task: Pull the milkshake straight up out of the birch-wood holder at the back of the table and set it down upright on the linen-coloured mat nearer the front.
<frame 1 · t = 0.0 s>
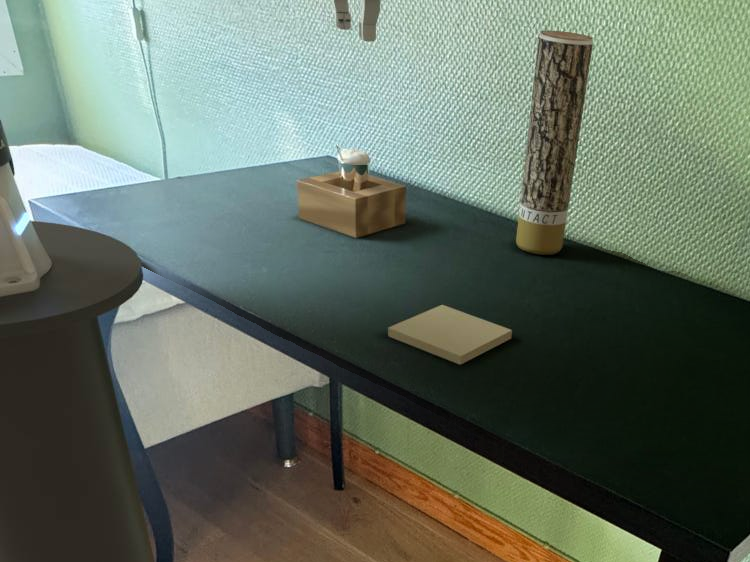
hand: (355, 34, 106), 22 cm above the table, tool pointing down, fingers open, 8 cm apart
milkshake: (352, 222, 118), on the table
paper tube: (538, 250, 116), on the table
mat: (450, 337, 90), on the table
holder: (352, 221, 118), on the table
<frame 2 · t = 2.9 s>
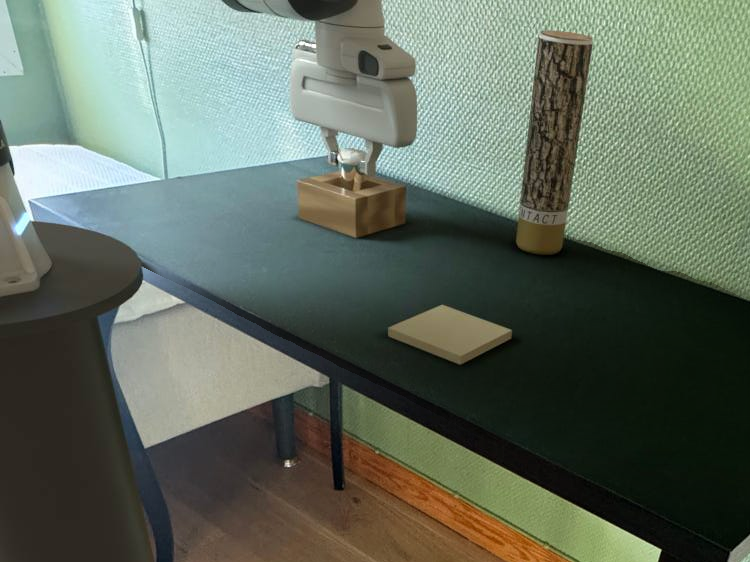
hand: (352, 170, 113), 7 cm above the table, tool pointing down, fingers closed on milkshake, 4 cm apart
milkshake: (352, 222, 118), on the table, touching gripper
everything else where it was.
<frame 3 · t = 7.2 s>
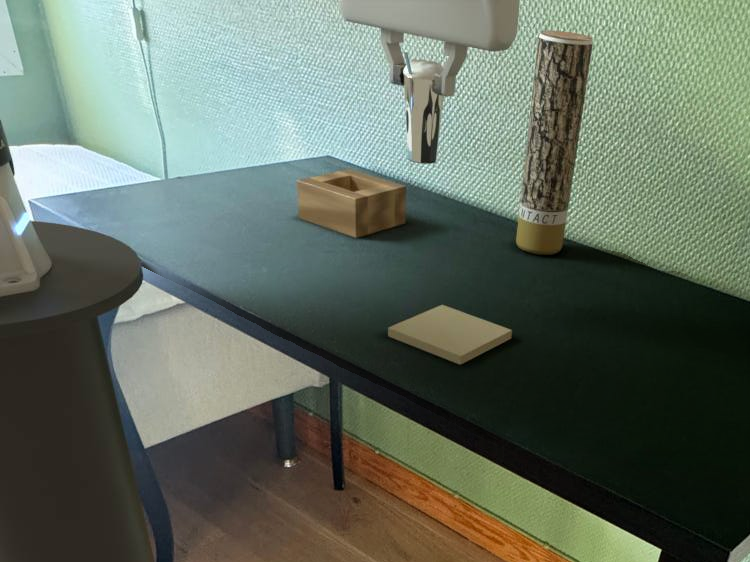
hand: (422, 89, 84), 21 cm above the table, tool pointing down, fingers closed on milkshake, 4 cm apart
milkshake: (419, 162, 89), point 14 cm above the table, touching gripper
everything else where it was.
when the fingers open (8 cm above the table, at t = 11.6 s): milkshake stays where it is, resting on mat.
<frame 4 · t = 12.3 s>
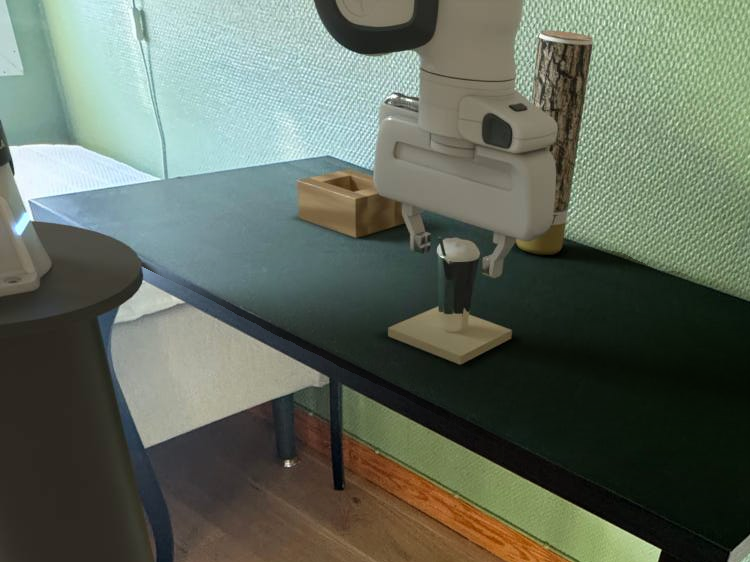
hand: (455, 263, 85), 8 cm above the table, tool pointing down, fingers open, 8 cm apart
milkshake: (450, 329, 90), point 1 cm above the table, touching mat
everything else where it was.
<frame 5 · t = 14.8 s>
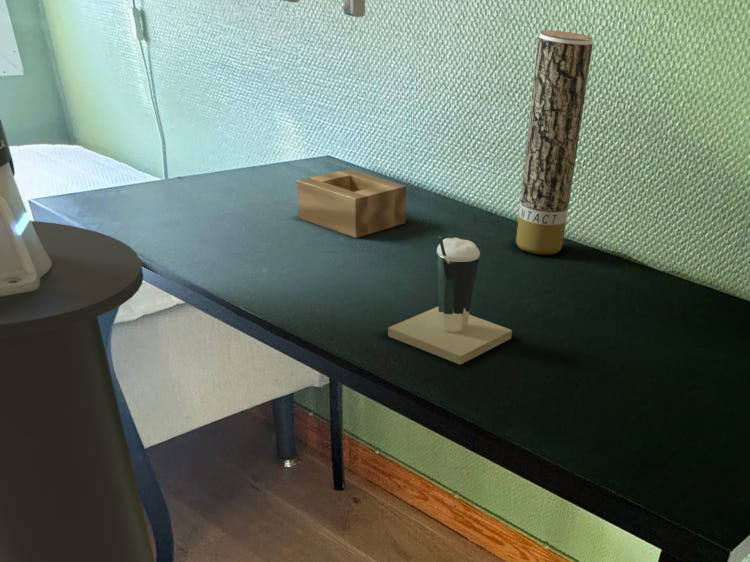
hand: (321, 8, 85), 26 cm above the table, tool pointing down, fingers open, 8 cm apart
nothing on the table moved.
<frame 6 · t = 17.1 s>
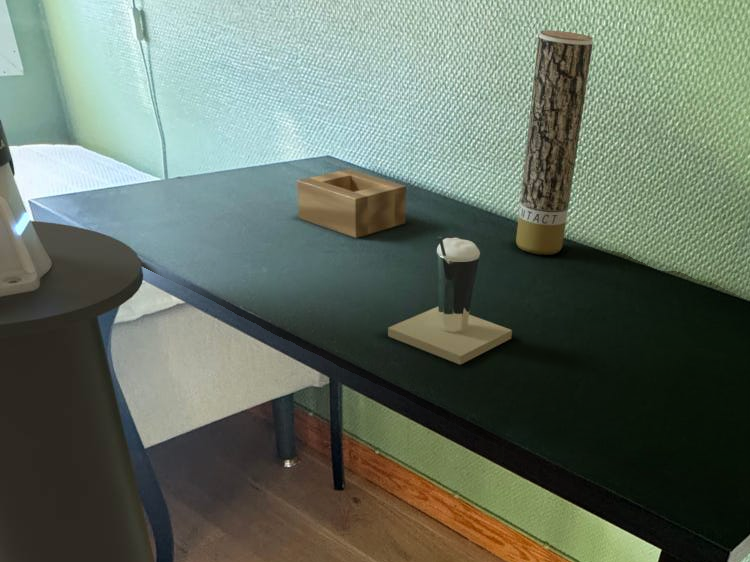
nothing on the table moved.
at the end: milkshake inside the target area on the mat (0.1 cm from its centre), point 0.8 cm above the mat's base; milkshake tilted 0°; milkshake moved 41.8 cm from its start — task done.
